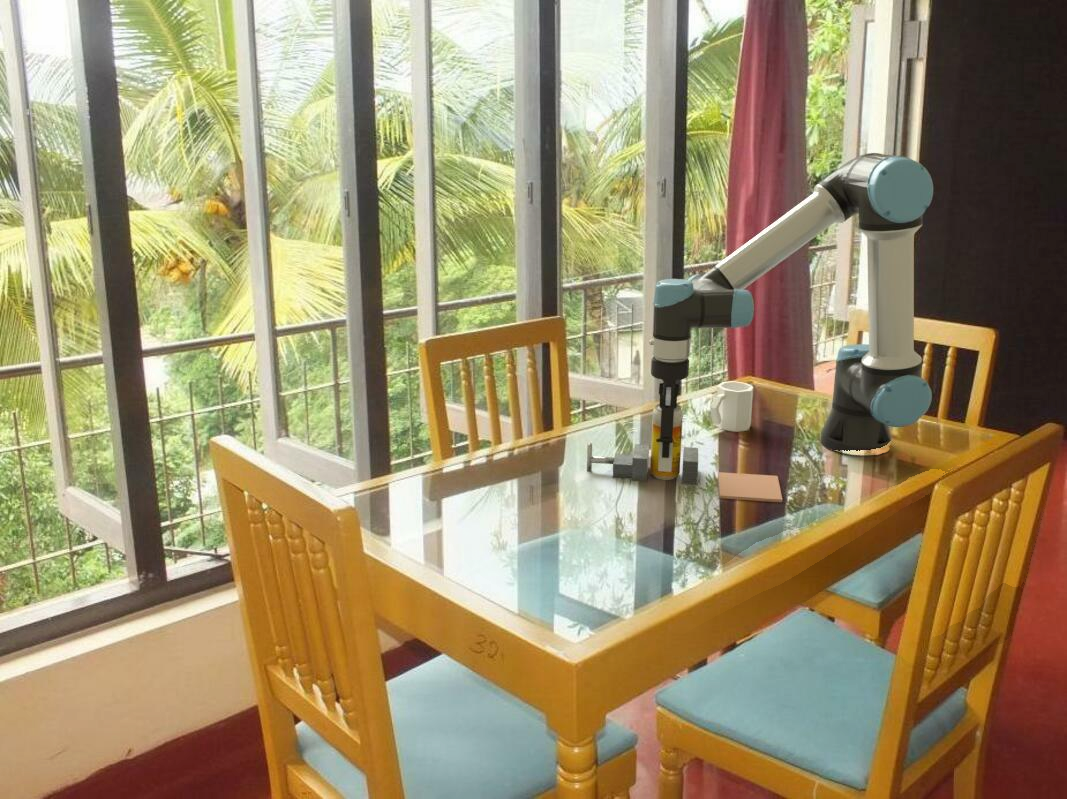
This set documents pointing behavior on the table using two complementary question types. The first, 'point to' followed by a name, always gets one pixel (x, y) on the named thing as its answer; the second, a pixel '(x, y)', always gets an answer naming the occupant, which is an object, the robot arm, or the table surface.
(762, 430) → the table surface
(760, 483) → the coaster
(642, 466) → the vise
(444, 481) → the table surface
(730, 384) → the mug
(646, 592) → the table surface
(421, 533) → the table surface
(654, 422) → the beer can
